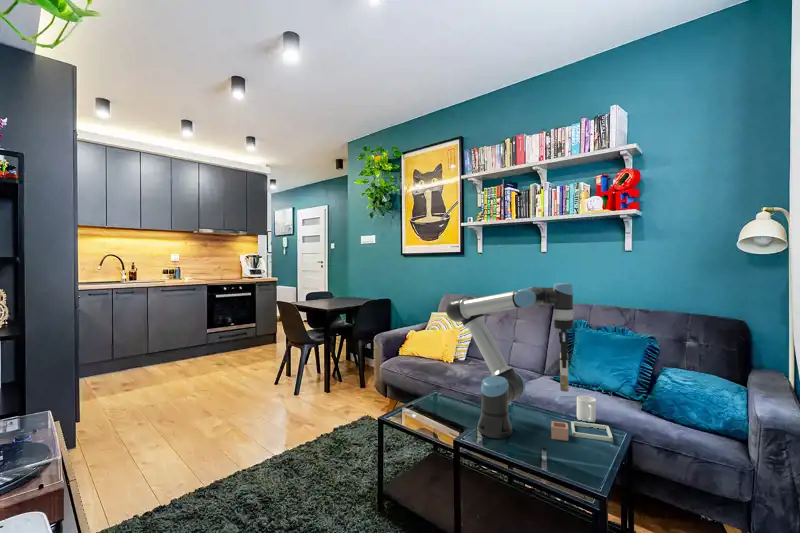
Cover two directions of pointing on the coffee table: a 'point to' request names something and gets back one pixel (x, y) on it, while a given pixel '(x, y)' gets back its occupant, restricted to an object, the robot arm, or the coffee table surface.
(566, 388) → the pin
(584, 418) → the cup
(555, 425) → the holder
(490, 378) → the robot arm
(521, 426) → the coffee table surface
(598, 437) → the tray
